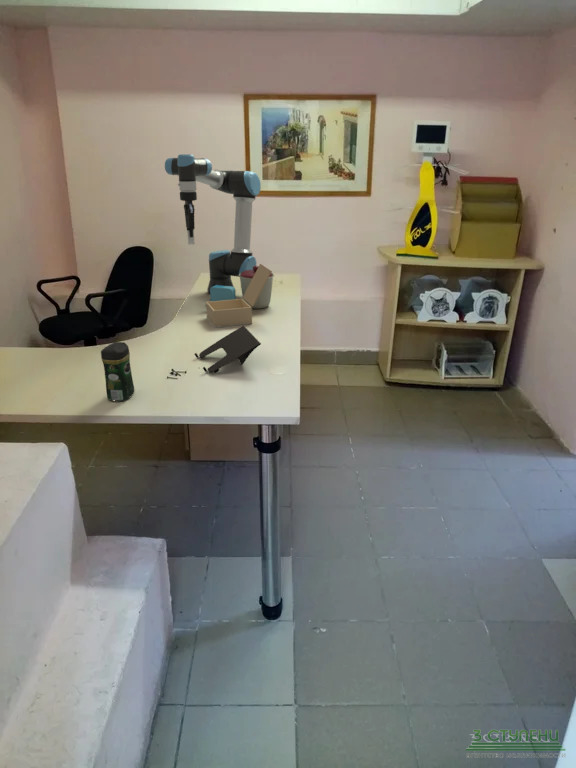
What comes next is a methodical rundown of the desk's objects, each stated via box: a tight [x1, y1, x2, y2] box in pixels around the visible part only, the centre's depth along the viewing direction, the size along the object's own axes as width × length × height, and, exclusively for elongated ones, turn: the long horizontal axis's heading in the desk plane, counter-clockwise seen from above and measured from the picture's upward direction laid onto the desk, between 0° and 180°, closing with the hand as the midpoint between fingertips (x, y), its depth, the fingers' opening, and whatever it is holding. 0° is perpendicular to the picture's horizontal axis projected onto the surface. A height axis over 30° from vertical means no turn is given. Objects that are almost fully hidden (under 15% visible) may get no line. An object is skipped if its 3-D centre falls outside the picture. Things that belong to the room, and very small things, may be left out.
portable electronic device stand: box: [194, 325, 262, 374], centre depth 220 cm, size 23×23×9 cm
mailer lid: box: [242, 263, 273, 306], centre depth 269 cm, size 16×18×1 cm
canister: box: [239, 265, 275, 310], centre depth 290 cm, size 18×18×21 cm
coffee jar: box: [100, 341, 135, 402], centre depth 188 cm, size 10×8×19 cm
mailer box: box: [205, 298, 253, 329], centre depth 269 cm, size 16×18×8 cm
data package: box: [209, 285, 237, 302], centre depth 285 cm, size 12×4×12 cm, turn 71°
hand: (191, 244), depth 266 cm, fingers closed
